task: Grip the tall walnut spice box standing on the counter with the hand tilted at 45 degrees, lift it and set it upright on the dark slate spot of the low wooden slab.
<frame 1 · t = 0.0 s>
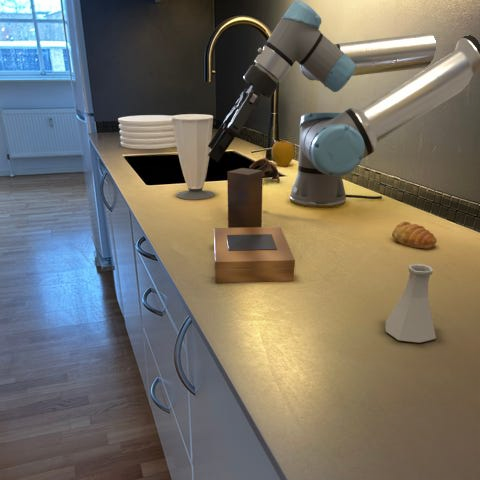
hand: (212, 153, 122), 15 cm above the worktop, tool tilted 35°, fingers open, 13 cm apart
wooden slab: (250, 262, 100), on the worktop
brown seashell: (264, 181, 166), on the worktop
pastry: (412, 243, 111), on the worktop
plate stack: (151, 144, 239), on the worktop
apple: (282, 166, 191), on the worktop
flask: (409, 333, 74), on the worktop
cup: (195, 196, 149), on the worktop
spice box: (244, 234, 116), on the worktop
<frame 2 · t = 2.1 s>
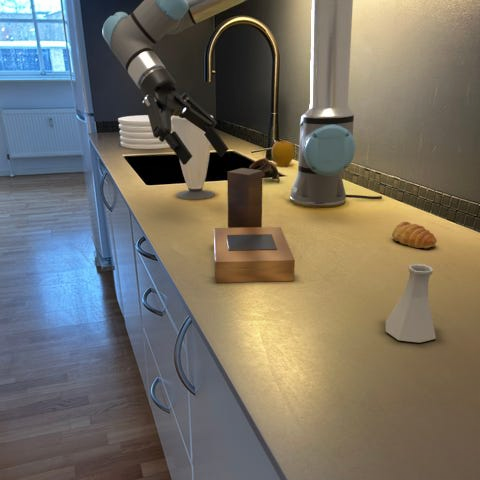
hand: (207, 156, 114), 16 cm above the worktop, tool tilted 45°, fingers open, 13 cm apart
nothing on the worktop moved.
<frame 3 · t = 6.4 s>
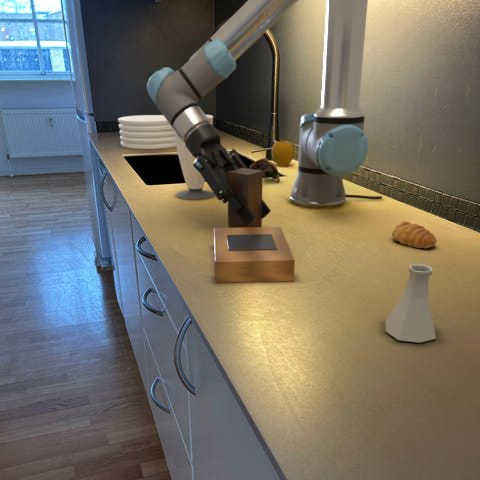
hand: (258, 218, 112), 4 cm above the worktop, tool tilted 45°, fingers closed on spice box, 5 cm apart
spice box: (244, 234, 116), on the worktop, touching gripper
everything else where it was.
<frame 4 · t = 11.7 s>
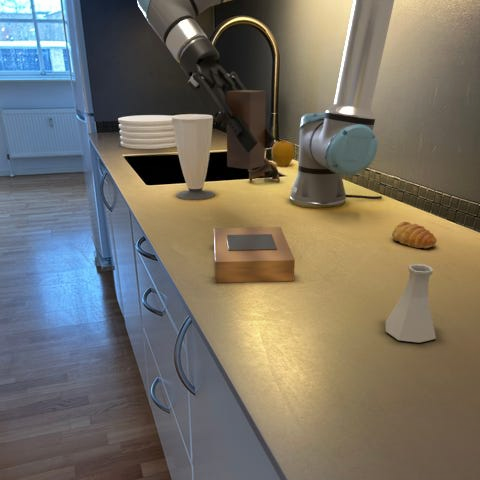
hand: (261, 145, 100), 20 cm above the worktop, tool tilted 45°, fingers closed on spice box, 5 cm apart
spice box: (245, 166, 104), point 16 cm above the worktop, touching gripper
everything else where it was.
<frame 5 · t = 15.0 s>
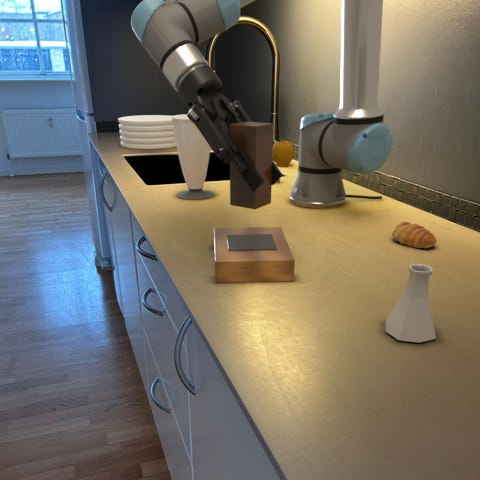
hand: (268, 183, 91), 16 cm above the worktop, tool tilted 45°, fingers closed on spice box, 5 cm apart
spice box: (250, 204, 95), point 11 cm above the worktop, touching gripper
everything else where it was.
when the fingers open (9 cm above the worktop, at t = 17.3 s): spice box stays where it is, resting on wooden slab.
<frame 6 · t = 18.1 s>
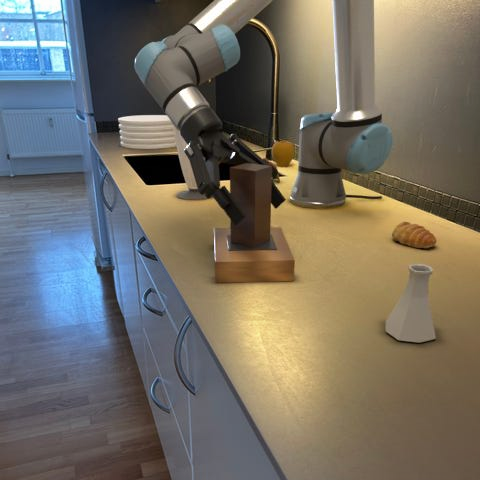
hand: (261, 212, 94), 10 cm above the worktop, tool tilted 45°, fingers open, 13 cm apart
spice box: (250, 241, 98), point 4 cm above the worktop, touching wooden slab
everything else where it was.
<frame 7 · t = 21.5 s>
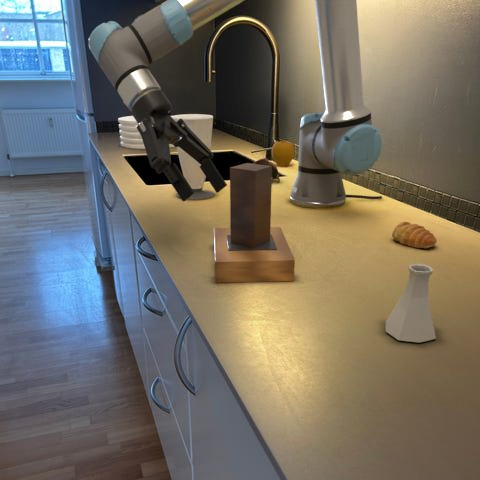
hand: (206, 193, 101), 12 cm above the worktop, tool tilted 40°, fingers open, 13 cm apart
nothing on the worktop moved.
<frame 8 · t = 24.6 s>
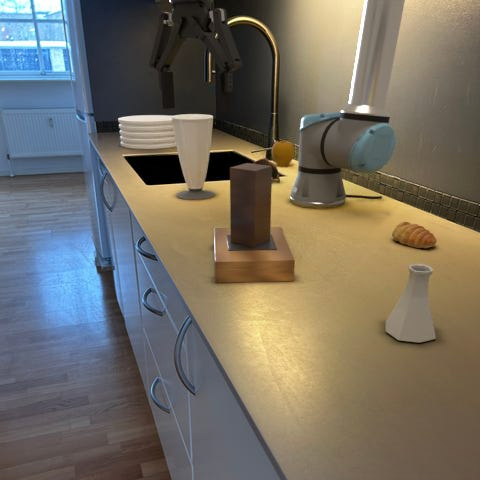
hand: (195, 110, 98), 27 cm above the worktop, tool pointing down, fingers open, 13 cm apart
nothing on the worktop moved.
at the end: spice box inside the target area on the wooden slab (0.1 cm from its centre), point 4.2 cm above the wooden slab's base; spice box tilted 0°; the gripper is holding nothing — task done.
